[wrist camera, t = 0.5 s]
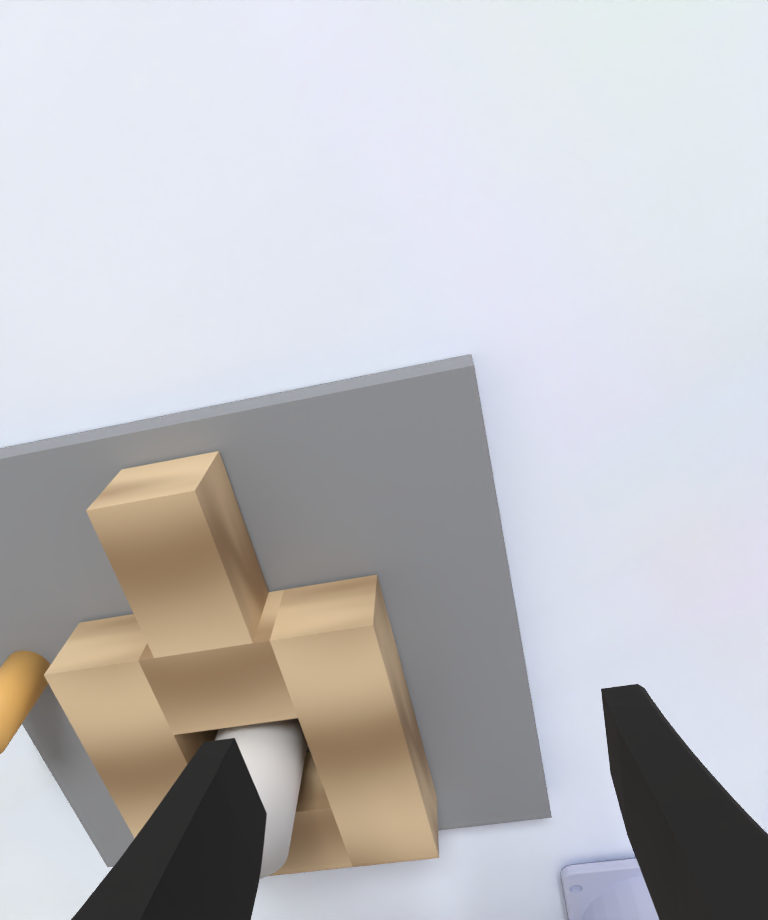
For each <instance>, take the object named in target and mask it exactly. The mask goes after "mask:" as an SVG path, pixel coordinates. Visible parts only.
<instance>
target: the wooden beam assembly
mask: <svg viewBox="0 0 768 920" xmlns="http://www.w3.org/2000/svg"><path fill="white" fill-rule="evenodd" d="M86 512H87V514H88V516H89V518H90V520H91V523H92V525H93V527H94V529H95V531H96V533H97V536H98V538H99V540H100V542H101V544H102V546H103V549H104V551H105V553H106V555H107V557H108V559H109V562H110V564H111V566H112V568H113V570H114V572H115V575H116V577H117V579H118V581H119V583H120V585H121V588H122V590H123V592H124V594H125V596H126V598H127V600H128V603H129V605H130V607H131V609H132V611H133V613H134V614H130V615H124V616H118V617H112V618H106V619H99V620H93V621H87V622H81V623H79V624H78V625H77V627H76V628H75V630H74V631H73V633H72V634H71V636H70V637H69V639H68V640H67V642H66V643H65V645H64V646H63V647H62V649H61V650H60V652H59V653H58V655H57V656H56V658H55V659H54V661H53V662H52V664H51V665H50V667H49V668H48V670H47V671H46V672H45V674H44V676H45V678H46V680H47V682H48V684H49V685H50V687H51V689H52V691H53V693H54V694H55V696H56V698H57V700H58V702H59V703H60V705H61V707H62V709H63V711H64V712H65V714H66V716H67V718H68V719H69V721H70V723H71V725H72V727H73V728H74V730H75V732H76V734H77V736H78V737H79V739H80V741H81V743H82V745H83V746H84V748H85V750H86V752H87V754H88V755H89V757H90V759H91V761H92V763H93V764H94V766H95V768H96V770H97V772H98V773H99V775H100V777H101V779H102V781H103V782H104V784H105V786H106V788H107V790H108V791H109V793H110V795H111V797H112V799H113V800H114V802H115V804H116V806H117V808H118V809H119V811H120V813H121V815H122V817H123V818H124V820H125V822H126V824H127V826H128V827H129V829H130V831H131V833H132V835H133V836H134V838H135V837H136V836H137V834H138V833H139V832H140V830H141V829H142V828H143V826H144V825H145V824H146V822H147V821H148V819H149V818H150V817H151V815H152V814H153V812H154V811H155V810H156V808H157V807H158V805H159V804H160V803H161V801H162V800H163V798H164V797H165V796H166V794H167V793H168V791H169V790H170V788H171V787H172V786H173V784H174V783H175V781H176V780H177V778H178V777H179V776H180V774H181V773H182V771H183V770H184V768H185V767H186V766H187V764H188V763H189V761H190V760H191V759H192V757H193V756H194V754H195V753H196V752H197V750H198V749H199V748H200V746H201V745H202V744H203V742H208V741H215V738H216V735H217V732H218V729H221V728H229V727H236V726H243V725H251V724H258V723H265V722H273V721H280V720H287V719H295V718H298V719H299V722H300V725H301V727H302V730H303V733H304V736H305V738H306V741H307V744H308V747H309V749H310V752H306V755H305V760H304V766H303V772H302V778H301V784H300V789H299V795H298V801H297V807H296V812H295V818H294V824H293V830H292V835H291V841H290V847H289V853H288V857H287V860H286V862H285V863H284V865H283V866H282V867H281V868H280V869H279V870H278V871H276V872H275V873H273V874H271V875H269V876H272V875H282V874H291V873H301V872H310V871H319V870H329V869H338V868H348V867H357V866H366V865H376V864H385V863H394V862H404V861H413V860H423V859H432V858H439V848H438V819H437V795H436V791H435V788H434V784H433V780H432V777H431V773H430V769H429V765H428V762H427V758H426V754H425V751H424V747H423V743H422V739H421V736H420V732H419V728H418V725H417V721H416V717H415V713H414V710H413V706H412V702H411V699H410V695H409V691H408V688H407V684H406V680H405V676H404V673H403V669H402V665H401V662H400V658H399V654H398V650H397V647H396V643H395V639H394V636H393V632H392V628H391V624H390V621H389V617H388V613H387V610H386V606H385V602H384V598H383V595H382V591H381V587H380V584H379V580H378V576H377V575H372V576H366V577H360V578H353V579H347V580H341V581H335V582H329V583H322V584H316V585H310V586H304V587H298V588H291V589H285V590H279V591H273V592H269V591H268V588H267V585H266V583H265V580H264V577H263V574H262V571H261V568H260V566H259V563H258V560H257V557H256V554H255V551H254V549H253V546H252V543H251V540H250V537H249V534H248V532H247V529H246V526H245V523H244V520H243V517H242V515H241V512H240V509H239V506H238V503H237V501H236V498H235V495H234V492H233V489H232V486H231V484H230V481H229V478H228V475H227V472H226V469H225V467H224V464H223V461H222V458H221V455H220V452H219V451H216V452H211V453H206V454H200V455H195V456H190V457H185V458H179V459H174V460H169V461H164V462H158V463H153V464H148V465H143V466H137V467H132V468H127V469H122V470H121V471H120V472H119V473H118V474H117V475H116V476H115V478H114V479H113V480H112V481H111V482H110V483H109V484H108V486H107V487H106V488H105V489H104V490H103V491H102V493H101V494H100V495H99V496H98V497H97V498H96V499H95V501H94V502H93V503H92V504H91V505H90V506H89V508H88V509H87V510H86Z"/></svg>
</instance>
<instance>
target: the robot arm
mask: <svg viewBox="0 0 768 920" xmlns="http://www.w3.org/2000/svg"><path fill="white" fill-rule="evenodd" d="M601 692H602V701H603V710H604V719H605V727H606V736H607V745H608V754H609V763H610V772H611V776H612V780H613V784H614V787H615V791H616V795H617V798H618V802H619V806H620V810H621V813H622V817H623V820H624V824H625V828H626V831H627V835H628V838H629V840H630V843H631V846H632V848H633V851H634V854H635V856H636V858H633V859H624V860H614V861H604V862H594V863H585V864H575V865H569V866H566V867H565V868H563V870H562V871H561V878H562V884H563V890H564V896H565V902H566V907H567V913H568V919H569V920H768V834H767V833H766V832H765V831H764V830H763V829H762V828H761V827H760V826H759V825H758V824H757V823H756V822H755V821H754V820H753V819H752V818H751V817H750V816H749V815H748V814H747V813H746V811H745V810H744V809H743V808H742V807H741V806H740V805H739V804H738V803H737V802H736V801H735V800H734V799H733V798H732V796H731V795H730V794H729V793H728V792H727V791H726V790H725V789H724V788H723V786H722V785H721V784H720V783H719V782H718V781H717V780H716V779H715V777H714V776H713V775H712V774H711V773H710V772H709V771H708V770H707V768H706V767H705V766H704V765H703V764H702V763H701V762H700V760H699V759H698V758H697V757H696V756H695V754H694V753H693V752H692V751H691V750H690V748H689V747H688V746H687V745H686V743H685V742H684V741H683V740H682V739H681V737H680V736H679V735H678V734H677V732H676V731H675V730H674V729H673V727H672V726H671V725H670V723H669V722H668V721H667V719H666V718H665V717H664V715H663V714H662V713H661V711H660V710H659V709H658V707H657V706H656V704H655V703H654V702H653V700H652V699H651V697H650V696H649V694H648V693H647V691H646V690H645V688H643V687H642V686H640V685H638V684H634V685H627V686H619V687H612V688H604V689H601ZM266 818H267V813H266V810H265V808H264V806H263V803H262V801H261V799H260V796H259V794H258V791H257V789H256V787H255V784H254V782H253V780H252V777H251V775H250V773H249V770H248V768H247V766H246V763H245V761H244V759H243V756H242V754H241V751H240V749H239V747H238V744H237V742H236V740H235V738H230V739H223V740H215V741H208V742H203V744H202V745H201V746H200V748H199V749H198V750H197V752H196V753H195V754H194V756H193V757H192V759H191V760H190V761H189V763H188V764H187V766H186V767H185V768H184V770H183V771H182V773H181V774H180V776H179V777H178V778H177V780H176V781H175V783H174V784H173V786H172V787H171V788H170V790H169V791H168V793H167V794H166V796H165V797H164V798H163V800H162V801H161V803H160V804H159V805H158V807H157V808H156V810H155V811H154V812H153V814H152V815H151V817H150V818H149V819H148V821H147V822H146V824H145V825H144V826H143V828H142V829H141V830H140V832H139V833H138V834H137V836H136V837H135V839H134V840H133V841H132V843H131V844H130V845H129V847H128V848H127V850H126V851H125V852H124V854H123V855H122V856H121V858H120V859H119V860H118V862H117V863H116V864H115V865H114V867H113V868H112V869H111V871H110V872H109V873H108V874H107V876H106V877H105V878H104V879H103V881H102V882H101V883H100V884H99V886H98V887H97V888H96V890H95V891H94V892H93V893H92V895H91V896H90V897H89V898H88V900H87V901H86V902H85V904H84V905H83V906H82V907H81V908H80V910H79V911H78V912H77V913H76V915H75V916H74V917H73V918H72V919H71V920H251V915H252V911H253V906H254V902H255V897H256V893H257V888H258V883H259V878H260V873H261V865H262V857H263V849H264V839H265V828H266Z"/></svg>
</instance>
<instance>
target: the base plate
mask: <svg viewBox="0 0 768 920" xmlns="http://www.w3.org/2000/svg"><path fill="white" fill-rule="evenodd" d="M216 451H219V452H220V455H221V458H222V461H223V464H224V467H225V469H226V472H227V475H228V478H229V481H230V484H231V486H232V489H233V492H234V495H235V498H236V501H237V503H238V506H239V509H240V512H241V515H242V517H243V520H244V523H245V526H246V529H247V532H248V534H249V537H250V540H251V543H252V546H253V549H254V551H255V554H256V557H257V560H258V563H259V566H260V568H261V571H262V574H263V577H264V580H265V583H266V585H267V588H268V591H269V592H273V591H279V590H285V589H291V588H298V587H304V586H310V585H316V584H322V583H329V582H335V581H341V580H347V579H353V578H360V577H366V576H372V575H377V576H378V580H379V584H380V587H381V591H382V595H383V598H384V602H385V606H386V610H387V613H388V617H389V621H390V624H391V628H392V632H393V636H394V639H395V643H396V647H397V650H398V654H399V658H400V662H401V665H402V669H403V673H404V676H405V680H406V684H407V688H408V691H409V695H410V699H411V702H412V706H413V710H414V713H415V717H416V721H417V725H418V728H419V732H420V736H421V739H422V743H423V747H424V751H425V754H426V758H427V762H428V765H429V769H430V773H431V777H432V780H433V784H434V788H435V791H436V795H437V819H438V830H444V829H453V828H462V827H471V826H480V825H489V824H498V823H506V822H515V821H524V820H533V819H542V818H551V811H550V805H549V800H548V794H547V788H546V782H545V776H544V770H543V765H542V759H541V753H540V747H539V741H538V735H537V730H536V724H535V718H534V712H533V706H532V701H531V695H530V689H529V683H528V677H527V671H526V666H525V660H524V654H523V648H522V642H521V636H520V631H519V625H518V619H517V613H516V607H515V601H514V596H513V590H512V584H511V578H510V572H509V566H508V561H507V555H506V549H505V543H504V537H503V531H502V526H501V520H500V514H499V508H498V502H497V496H496V491H495V485H494V479H493V473H492V467H491V462H490V456H489V450H488V444H487V438H486V432H485V427H484V421H483V415H482V409H481V403H480V397H479V392H478V386H477V380H476V374H475V368H474V363H473V360H472V356H471V354H470V355H465V356H460V357H455V358H450V359H445V360H440V361H435V362H430V363H425V364H420V365H415V366H410V367H405V368H400V369H395V370H390V371H385V372H380V373H375V374H370V375H365V376H360V377H355V378H350V379H345V380H340V381H335V382H330V383H325V384H320V385H315V386H310V387H305V388H300V389H295V390H290V391H285V392H280V393H275V394H270V395H265V396H260V397H255V398H250V399H245V400H240V401H235V402H230V403H225V404H220V405H215V406H210V407H205V408H200V409H195V410H190V411H185V412H180V413H175V414H170V415H165V416H160V417H155V418H150V419H145V420H140V421H135V422H130V423H125V424H120V425H115V426H110V427H105V428H100V429H95V430H90V431H85V432H80V433H75V434H70V435H65V436H60V437H55V438H50V439H45V440H40V441H35V442H30V443H25V444H20V445H15V446H10V447H5V448H0V754H1V753H2V752H3V751H4V750H5V748H6V747H7V745H8V744H9V742H10V741H11V739H12V738H13V736H14V735H15V733H16V732H17V730H18V729H19V727H20V726H21V724H23V726H24V728H25V730H26V731H27V733H28V735H29V736H30V738H31V740H32V741H33V743H34V745H35V746H36V748H37V750H38V751H39V753H40V755H41V756H42V758H43V760H44V761H45V763H46V765H47V766H48V768H49V770H50V771H51V773H52V775H53V776H54V778H55V780H56V781H57V783H58V785H59V786H60V788H61V790H62V791H63V793H64V795H65V797H66V798H67V800H68V802H69V803H70V805H71V807H72V808H73V810H74V812H75V813H76V815H77V817H78V818H79V820H80V822H81V823H82V825H83V827H84V828H85V830H86V832H87V833H88V835H89V837H90V838H91V840H92V842H93V843H94V845H95V847H96V848H97V850H98V852H99V853H100V855H101V857H102V859H103V860H104V862H105V864H106V865H107V867H113V866H114V865H115V864H116V863H117V862H118V860H119V859H120V858H121V856H122V855H123V854H124V852H125V851H126V850H127V848H128V847H129V845H130V844H131V843H132V841H133V840H134V839H135V838H134V836H133V835H132V833H131V831H130V829H129V827H128V826H127V824H126V822H125V820H124V818H123V817H122V815H121V813H120V811H119V809H118V808H117V806H116V804H115V802H114V800H113V799H112V797H111V795H110V793H109V791H108V790H107V788H106V786H105V784H104V782H103V781H102V779H101V777H100V775H99V773H98V772H97V770H96V768H95V766H94V764H93V763H92V761H91V759H90V757H89V755H88V754H87V752H86V750H85V748H84V746H83V745H82V743H81V741H80V739H79V737H78V736H77V734H76V732H75V730H74V728H73V727H72V725H71V723H70V721H69V719H68V718H67V716H66V714H65V712H64V711H63V709H62V707H61V705H60V703H59V702H58V700H57V698H56V696H55V694H54V693H53V691H52V689H51V687H50V685H49V684H48V682H47V680H46V678H45V676H44V674H45V672H46V671H47V670H48V668H49V667H50V665H51V664H52V662H53V661H54V659H55V658H56V656H57V655H58V653H59V652H60V650H61V649H62V647H63V646H64V645H65V643H66V642H67V640H68V639H69V637H70V636H71V634H72V633H73V631H74V630H75V628H76V627H77V625H78V624H79V623H81V622H87V621H93V620H99V619H106V618H112V617H118V616H124V615H130V614H134V613H133V611H132V609H131V607H130V605H129V603H128V600H127V598H126V596H125V594H124V592H123V590H122V588H121V585H120V583H119V581H118V579H117V577H116V575H115V572H114V570H113V568H112V566H111V564H110V562H109V559H108V557H107V555H106V553H105V551H104V549H103V546H102V544H101V542H100V540H99V538H98V536H97V533H96V531H95V529H94V527H93V525H92V523H91V520H90V518H89V516H88V514H87V512H86V510H87V509H88V508H89V506H90V505H91V504H92V503H93V502H94V501H95V499H96V498H97V497H98V496H99V495H100V494H101V493H102V491H103V490H104V489H105V488H106V487H107V486H108V484H109V483H110V482H111V481H112V480H113V479H114V478H115V476H116V475H117V474H118V473H119V472H120V471H121V470H122V469H127V468H132V467H137V466H143V465H148V464H153V463H158V462H164V461H169V460H174V459H179V458H185V457H190V456H195V455H200V454H206V453H211V452H216ZM230 738H235V740H236V742H237V744H238V747H239V749H240V751H241V754H242V756H243V759H244V761H245V763H246V766H247V768H248V770H249V773H250V775H251V777H252V780H253V782H254V784H255V787H256V789H257V791H258V794H259V796H260V799H261V801H262V803H263V806H264V808H265V810H266V813H267V818H266V828H265V839H264V849H263V857H262V865H261V873H260V878H263V877H266V876H269V875H271V874H273V873H275V872H276V871H278V870H279V869H280V868H281V867H282V866H283V865H284V863H285V862H286V860H287V857H288V853H289V847H290V841H291V835H292V830H293V824H294V818H295V812H296V807H297V801H298V795H299V789H300V784H301V778H302V772H303V766H304V760H305V755H306V752H310V749H309V747H308V744H307V741H306V738H305V736H304V733H303V730H302V727H301V725H300V722H299V719H298V718H295V719H287V720H280V721H273V722H265V723H258V724H251V725H243V726H236V727H229V728H221V729H218V732H217V735H216V738H215V740H223V739H230Z"/></svg>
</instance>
